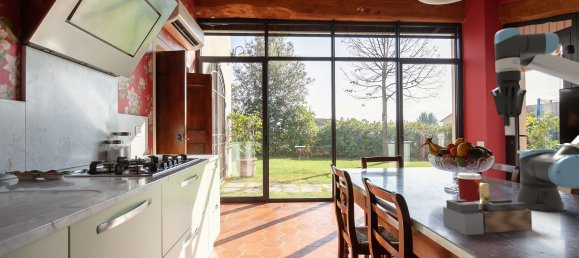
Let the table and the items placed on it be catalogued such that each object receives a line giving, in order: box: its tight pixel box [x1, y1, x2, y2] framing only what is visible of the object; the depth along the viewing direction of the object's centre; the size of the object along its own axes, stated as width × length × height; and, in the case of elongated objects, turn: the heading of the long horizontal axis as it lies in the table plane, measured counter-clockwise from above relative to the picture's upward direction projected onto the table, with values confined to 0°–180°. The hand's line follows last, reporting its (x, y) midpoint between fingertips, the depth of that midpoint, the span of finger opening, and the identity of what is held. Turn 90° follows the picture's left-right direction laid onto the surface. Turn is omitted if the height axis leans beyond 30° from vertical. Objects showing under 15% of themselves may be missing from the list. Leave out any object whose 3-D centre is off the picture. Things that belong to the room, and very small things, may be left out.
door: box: [473, 198, 533, 234], centre depth 96 cm, size 16×8×8 cm, turn 98°
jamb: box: [442, 199, 485, 236], centre depth 94 cm, size 6×10×9 cm, turn 8°
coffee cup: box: [456, 172, 483, 202], centre depth 112 cm, size 8×8×15 cm
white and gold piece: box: [461, 182, 493, 210], centre depth 95 cm, size 9×3×8 cm, turn 98°
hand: (510, 134), depth 111 cm, fingers closed
